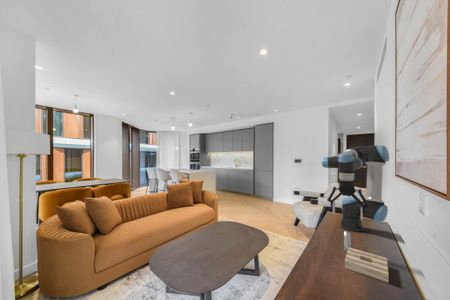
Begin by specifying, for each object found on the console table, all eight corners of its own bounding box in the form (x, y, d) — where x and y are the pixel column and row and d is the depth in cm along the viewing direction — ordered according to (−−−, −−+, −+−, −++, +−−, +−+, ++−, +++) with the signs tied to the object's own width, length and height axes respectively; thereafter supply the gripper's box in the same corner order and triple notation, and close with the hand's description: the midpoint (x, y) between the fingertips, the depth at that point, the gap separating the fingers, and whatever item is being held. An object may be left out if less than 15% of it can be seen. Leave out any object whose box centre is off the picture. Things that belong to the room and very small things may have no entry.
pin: (344, 248, 105) (344, 230, 106) (351, 250, 103) (350, 231, 103) (343, 251, 103) (343, 232, 103) (350, 253, 101) (350, 233, 101)
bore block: (348, 254, 99) (348, 247, 99) (387, 266, 89) (386, 258, 89) (344, 268, 87) (344, 259, 87) (388, 283, 77) (388, 274, 77)
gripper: (321, 178, 109) (322, 213, 109) (373, 182, 93) (375, 223, 92) (324, 177, 115) (324, 210, 114) (374, 181, 99) (375, 219, 98)
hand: (347, 216), depth 103 cm, fingers open, 13 cm apart
